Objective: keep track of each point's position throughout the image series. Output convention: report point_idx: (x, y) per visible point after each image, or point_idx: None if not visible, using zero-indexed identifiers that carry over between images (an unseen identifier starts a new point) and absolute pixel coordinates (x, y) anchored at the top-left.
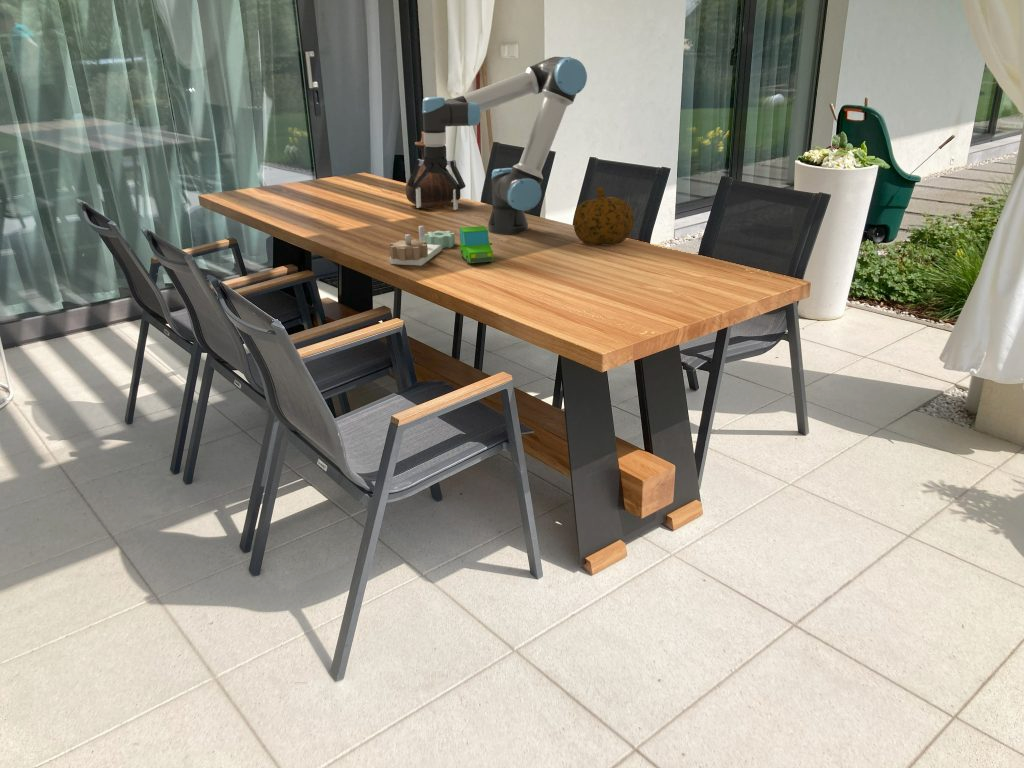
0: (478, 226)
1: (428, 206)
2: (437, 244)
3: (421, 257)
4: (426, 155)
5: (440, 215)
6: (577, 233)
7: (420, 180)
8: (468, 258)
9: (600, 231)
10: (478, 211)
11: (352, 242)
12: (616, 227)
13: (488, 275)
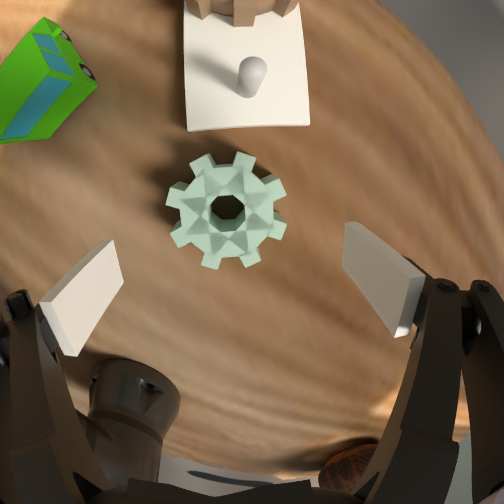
0: (3, 129)
1: (355, 448)
2: (218, 165)
3: None
4: None
5: (327, 433)
6: None
7: (430, 341)
8: (56, 26)
9: None
10: (266, 460)
11: (467, 184)
12: None
13: (26, 6)
